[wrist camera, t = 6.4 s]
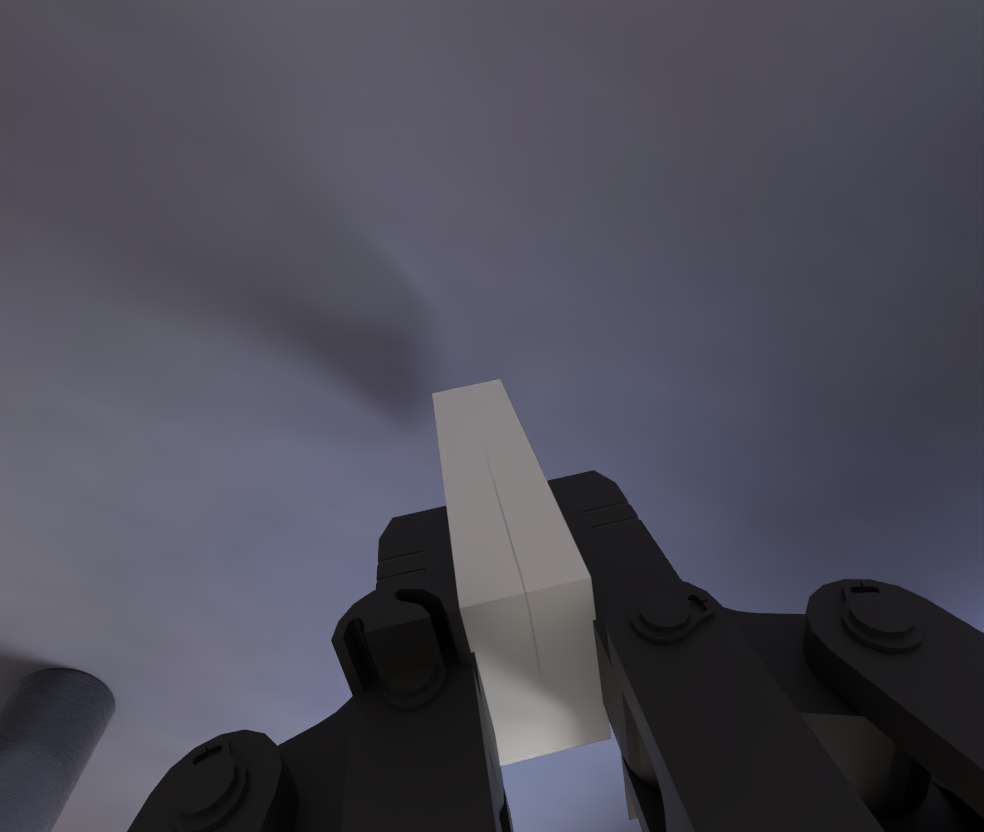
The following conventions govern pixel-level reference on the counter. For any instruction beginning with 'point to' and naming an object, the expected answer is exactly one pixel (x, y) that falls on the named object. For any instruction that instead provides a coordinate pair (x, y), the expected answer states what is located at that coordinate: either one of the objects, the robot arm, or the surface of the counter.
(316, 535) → the counter surface
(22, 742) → the post
